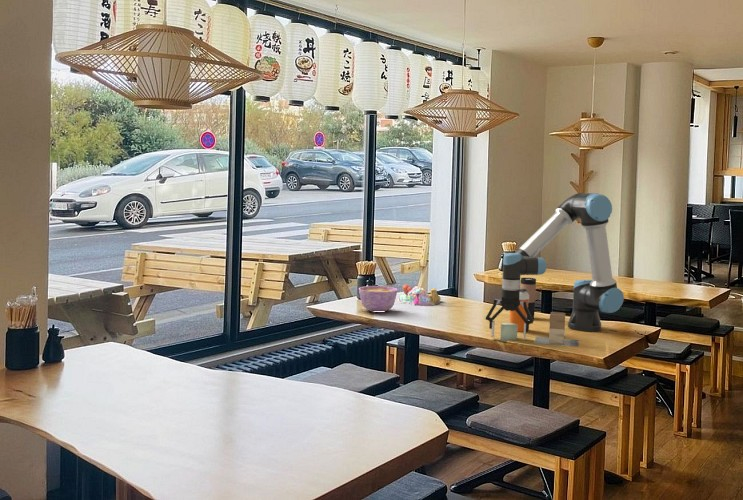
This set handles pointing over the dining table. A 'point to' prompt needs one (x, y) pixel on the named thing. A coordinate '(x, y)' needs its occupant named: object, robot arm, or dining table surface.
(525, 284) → the travel mug
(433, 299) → the colourful toy figurine cluster
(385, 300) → the bowl of food
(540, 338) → the slate board
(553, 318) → the block top
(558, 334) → the block bottom
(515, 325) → the pale green cube
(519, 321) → the shaker bottle
